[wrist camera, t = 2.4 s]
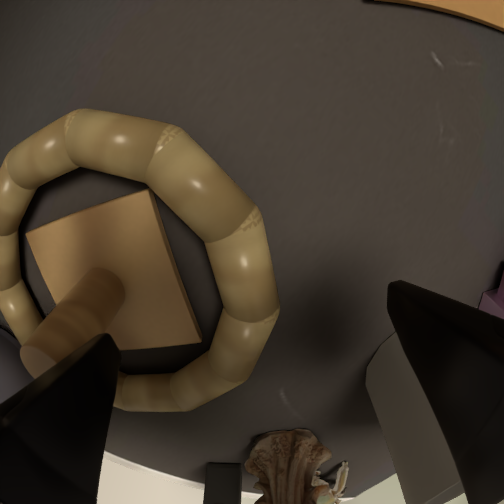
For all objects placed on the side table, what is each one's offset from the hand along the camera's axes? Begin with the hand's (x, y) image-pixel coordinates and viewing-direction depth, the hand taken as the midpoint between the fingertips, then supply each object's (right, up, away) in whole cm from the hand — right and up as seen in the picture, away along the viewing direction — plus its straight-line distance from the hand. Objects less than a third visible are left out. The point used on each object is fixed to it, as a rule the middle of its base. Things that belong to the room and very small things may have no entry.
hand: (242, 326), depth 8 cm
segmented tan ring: (-7, 0, +4) cm, 8 cm away
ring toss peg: (-7, +1, +5) cm, 9 cm away
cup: (+12, -5, +8) cm, 15 cm away
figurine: (+3, -13, +11) cm, 18 cm away
